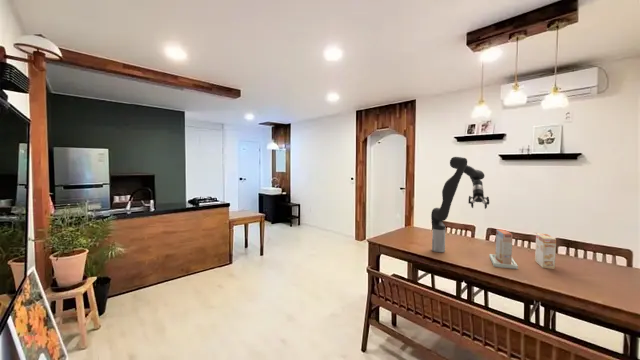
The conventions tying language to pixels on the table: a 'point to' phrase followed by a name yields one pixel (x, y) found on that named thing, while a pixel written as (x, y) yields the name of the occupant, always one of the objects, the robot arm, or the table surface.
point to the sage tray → (498, 264)
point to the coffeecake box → (545, 250)
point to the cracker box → (503, 246)
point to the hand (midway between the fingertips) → (479, 207)
